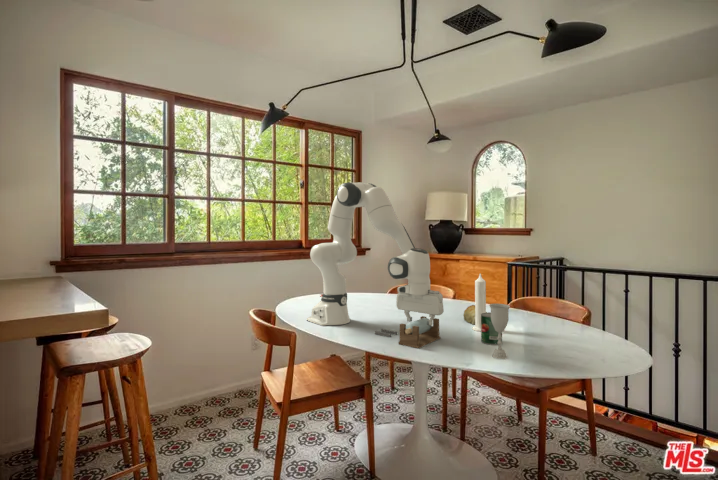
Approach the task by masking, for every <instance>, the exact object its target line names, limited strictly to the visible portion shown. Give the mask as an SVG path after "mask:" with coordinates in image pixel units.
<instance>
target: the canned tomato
mask: <svg viewBox="0 0 718 480" xmlns="http://www.w3.org/2000/svg"><path fill="white" fill-rule="evenodd" d="M480 337H481V338H480V341H481V343H482V344H484V345H491V346H498V343H497V342H498V338H497V337H498V332H497V331H496V330H495V328H494V326H493V324H492V321H491V311H490V312H488V311H487V313H482V314H481V332H480ZM501 337H502V339H501V342H502V343H503V332H501Z"/></svg>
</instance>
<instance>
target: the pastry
mask: <svg viewBox="0 0 718 480" xmlns="http://www.w3.org/2000/svg"><path fill="white" fill-rule="evenodd" d="M486 313H488V311H486ZM463 319H464V321H465V322H466V323H468V324H470V325H472V326H475V305H474V304H472V305H469V306H467V307H466V309H465V310H464V311H463Z"/></svg>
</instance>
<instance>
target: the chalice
mask: <svg viewBox="0 0 718 480" xmlns="http://www.w3.org/2000/svg"><path fill="white" fill-rule="evenodd" d="M488 306H489V308H490V312H491V321H492V324H493V326H494V328H495V330H496V331H497V332H498V337H497V338H498V342H497V343H498V345H497V346H498V347H497V348H495V350H494V351H493V353H492V357H493V358H494V359H499V360H505V359H507V358H508V355H507V352H506V351H505V350H504V349H503V348H502V344H503V341H502V342H501V339H502V340H503V336H502V337H501V332H502V333H503V332H504V331H505V329H506V327H507V326H508V323H509V309H510V307H511V305H509V304H505V303H491V304H489V305H488Z"/></svg>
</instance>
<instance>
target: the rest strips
mask: <svg viewBox="0 0 718 480" xmlns="http://www.w3.org/2000/svg"><path fill="white" fill-rule="evenodd" d="M374 335H377V336H383V337H387V338H391V337H392V335H394V336H396V335H398V331H396V330H390V329H384V328H381V330H380V331H379V330H376V331H374Z"/></svg>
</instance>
